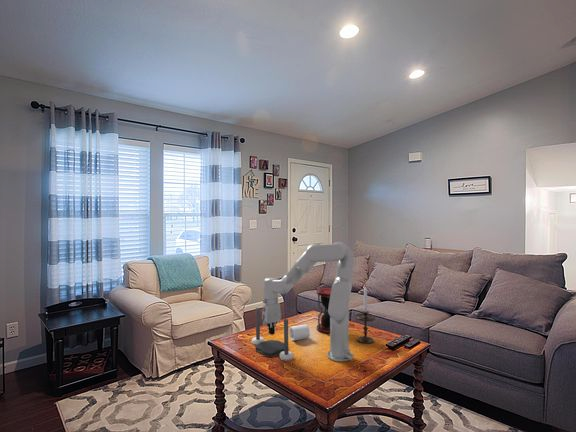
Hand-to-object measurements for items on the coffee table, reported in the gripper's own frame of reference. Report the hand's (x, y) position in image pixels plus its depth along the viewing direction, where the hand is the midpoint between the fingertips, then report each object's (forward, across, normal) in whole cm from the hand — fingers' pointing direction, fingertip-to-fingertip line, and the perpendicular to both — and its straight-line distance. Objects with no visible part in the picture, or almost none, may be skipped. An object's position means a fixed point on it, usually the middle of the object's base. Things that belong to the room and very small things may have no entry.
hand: (271, 333), depth 187 cm
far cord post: (+9, 0, +13) cm, 16 cm away
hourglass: (+9, +46, 0) cm, 47 cm away
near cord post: (+9, 0, -13) cm, 16 cm away
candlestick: (+10, +49, -26) cm, 56 cm away
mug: (+9, +22, +3) cm, 24 cm away
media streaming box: (+9, 0, 0) cm, 9 cm away
